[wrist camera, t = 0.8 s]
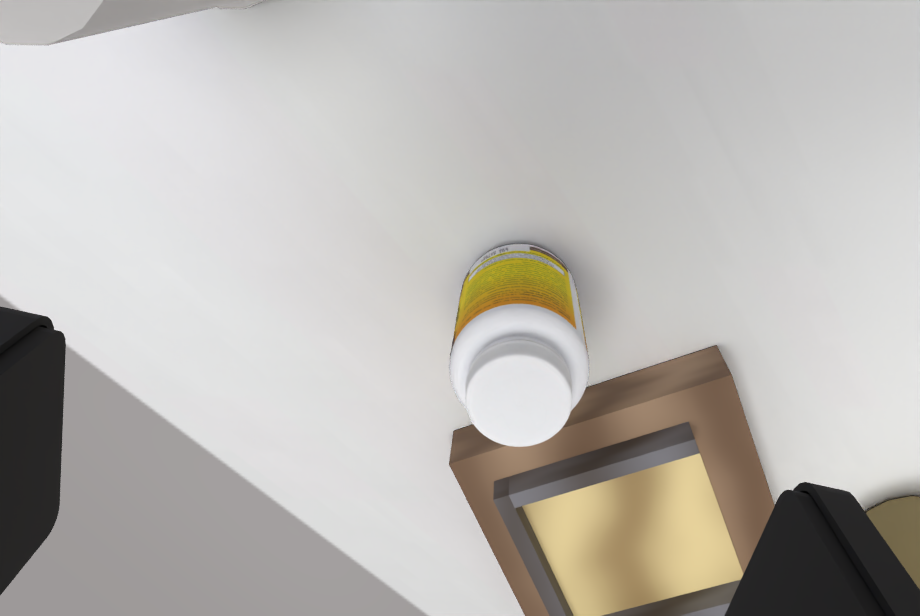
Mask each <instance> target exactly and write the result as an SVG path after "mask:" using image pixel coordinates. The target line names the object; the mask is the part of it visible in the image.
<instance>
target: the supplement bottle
mask: <svg viewBox="0 0 920 616" xmlns="http://www.w3.org/2000/svg"><path fill="white" fill-rule="evenodd" d="M449 369H450V379H451V383H452V387H453V389H454V392H455V394H456V396H457V397H458V399H459V401H460V402H461V404H462V405H463V406H464V407H465V408H466V410H467V412H468V415H469V417H470V419H471V421H472V423H473V424H474V426H475V427H476V428H477V429H478V430H479V431H480V432H481V433H482V434H483V435H484V436H486V437H487V438H489V439H491V440H492V441H494V442H497V443H500V444H503V445H507V446H513V447H525V446H532V445H536V444H539V443H542V442H544V441H546V440H548V439H550V438H551V437H553V436H554V435H555V434H556V433H558V432H559V431H560V430H561V429H562V427H563V426H564V425H565V423H566V421H567V420H568V418H569V415H570V413H571V411H572V409H573V408H574V407H575V406H576V405H577V404H578V402H579V401H580V399H581V397H582V396H583V393H584V391H585V389H586V386H587V383H588V378H589V357H588V351H587V345H586V339H585V333H584V327H583V321H582V316H581V310H580V305H579V300H578V295H577V289H576V286H575V282H574V280H573V277H572V275H571V273H570V271H569V270H568V268H567V267H566V266H565V265H564V263H563V262H562V261H561V260H560V259H558V258H557V257H556V256H555V255H553V254H552V253H550V252H548V251H547V250H545V249H542V248H540V247H537V246H533V245H528V244H511V245H505V246H501V247H498V248H496V249H493V250H491V251H490V252H488V253H486V254H485V255H483V256H482V257H481V258H480V259H478V260H477V261H476V262H475V263H474V265H473V266H472V267H471V269H470V270H469V272H468V273H467V275H466V277H465V280H464V282H463V286H462V290H461V295H460V301H459V307H458V313H457V318H456V326H455V331H454V338H453V342H452V349H451V353H450V365H449Z"/></svg>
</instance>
